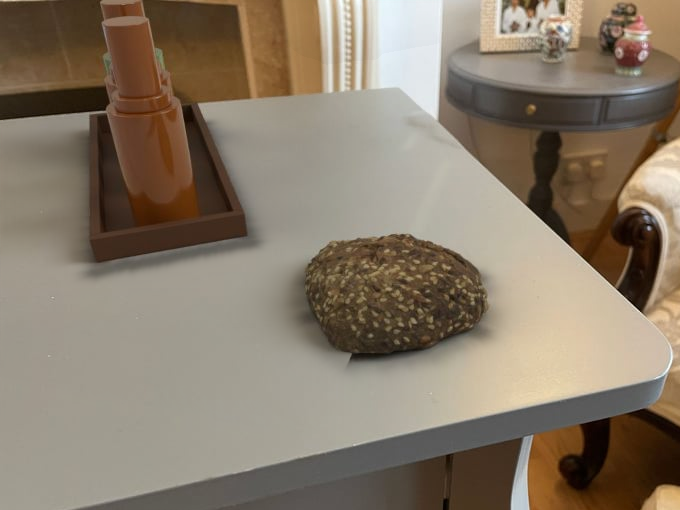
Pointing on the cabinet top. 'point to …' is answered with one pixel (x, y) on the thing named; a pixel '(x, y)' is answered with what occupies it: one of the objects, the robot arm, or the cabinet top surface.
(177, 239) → the tray
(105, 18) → the amber bottle middle
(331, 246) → the bread roll
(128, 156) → the amber bottle near
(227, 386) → the cabinet top surface
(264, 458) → the cabinet top surface
